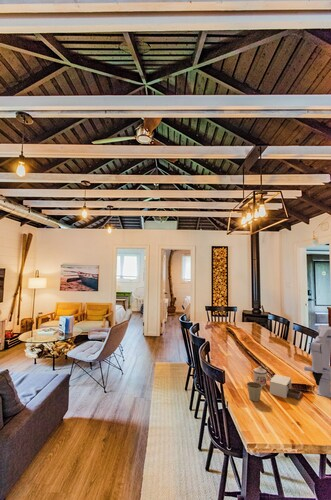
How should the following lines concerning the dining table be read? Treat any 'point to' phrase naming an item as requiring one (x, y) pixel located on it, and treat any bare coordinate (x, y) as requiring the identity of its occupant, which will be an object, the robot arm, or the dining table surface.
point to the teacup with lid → (261, 376)
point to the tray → (294, 394)
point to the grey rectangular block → (279, 385)
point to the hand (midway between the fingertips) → (317, 384)
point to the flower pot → (254, 390)
